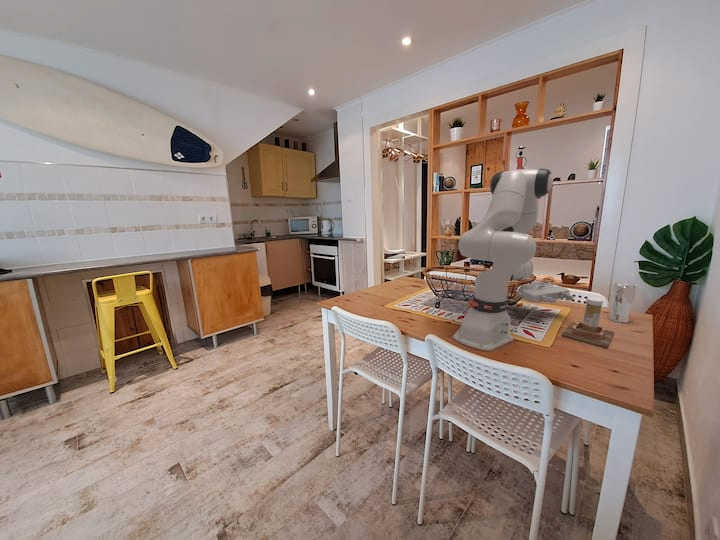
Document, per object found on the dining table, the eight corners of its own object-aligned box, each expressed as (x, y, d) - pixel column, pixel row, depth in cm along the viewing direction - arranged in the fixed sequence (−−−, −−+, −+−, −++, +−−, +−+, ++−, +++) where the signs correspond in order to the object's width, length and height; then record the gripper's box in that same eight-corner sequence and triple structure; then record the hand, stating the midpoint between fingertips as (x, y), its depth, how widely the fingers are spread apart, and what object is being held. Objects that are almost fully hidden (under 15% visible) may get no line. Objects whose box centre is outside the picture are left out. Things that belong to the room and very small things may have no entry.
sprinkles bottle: (578, 330, 107) (583, 296, 104) (590, 330, 107) (596, 296, 104) (587, 335, 102) (593, 300, 99) (600, 335, 102) (606, 300, 99)
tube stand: (607, 348, 95) (608, 341, 94) (561, 336, 104) (562, 329, 104) (613, 333, 105) (615, 326, 105) (571, 323, 115) (572, 317, 114)
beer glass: (634, 323, 114) (642, 287, 111) (617, 323, 114) (624, 288, 111) (619, 316, 121) (626, 283, 118) (603, 316, 121) (609, 283, 118)
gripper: (515, 286, 122) (544, 295, 109) (551, 281, 128) (582, 289, 115) (514, 299, 123) (542, 310, 110) (549, 294, 129) (580, 304, 116)
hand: (563, 299), depth 113 cm, fingers open, 8 cm apart
